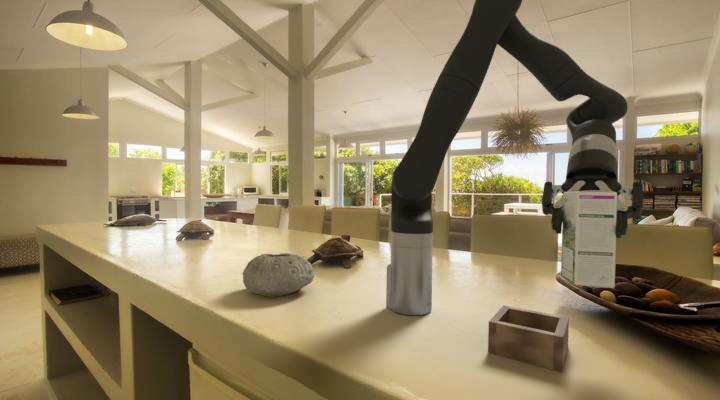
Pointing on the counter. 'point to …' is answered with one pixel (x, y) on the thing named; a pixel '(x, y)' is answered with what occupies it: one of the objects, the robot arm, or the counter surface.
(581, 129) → the robot arm
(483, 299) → the counter surface
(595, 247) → the syrup box
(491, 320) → the walnut collar
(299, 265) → the grey carved stone
